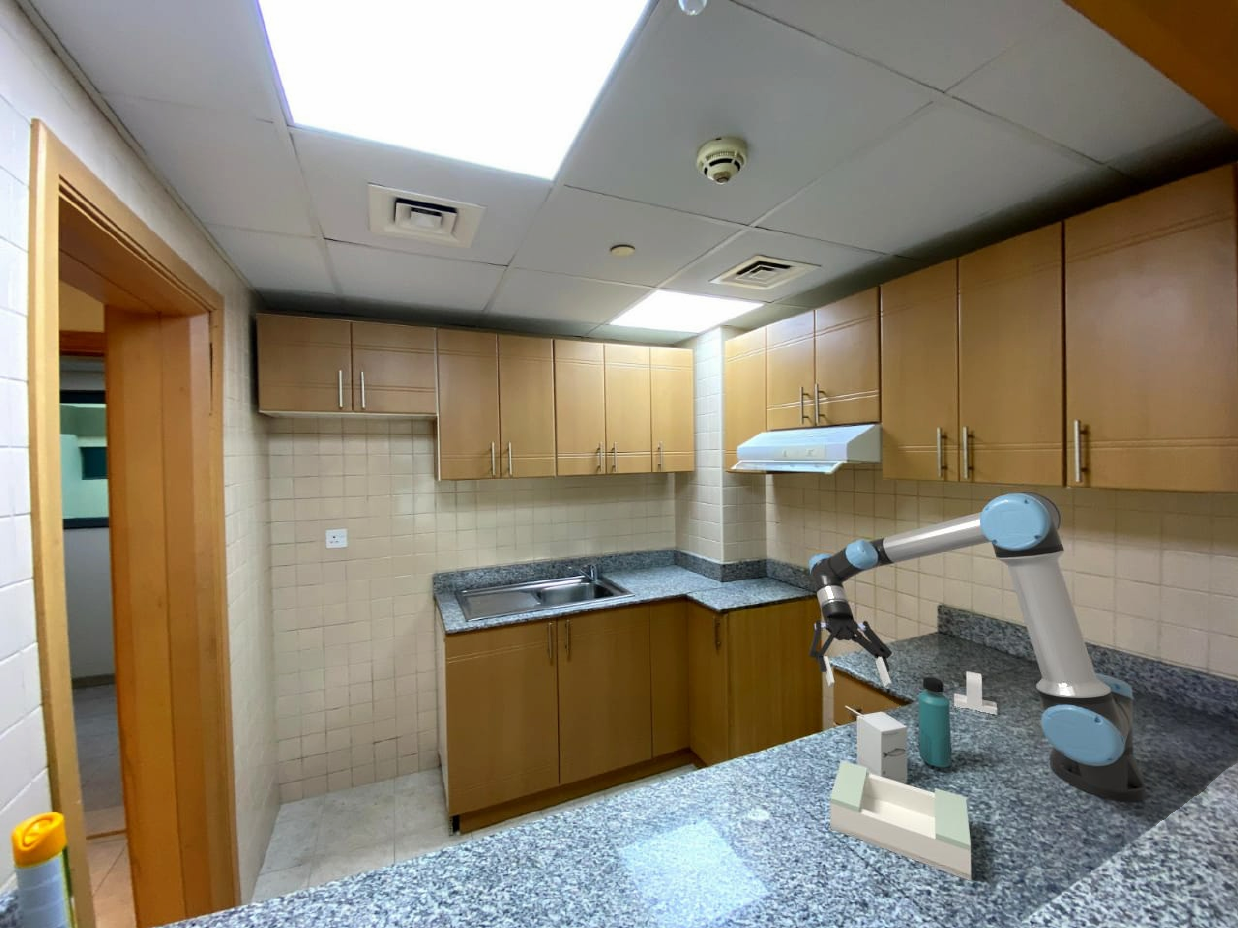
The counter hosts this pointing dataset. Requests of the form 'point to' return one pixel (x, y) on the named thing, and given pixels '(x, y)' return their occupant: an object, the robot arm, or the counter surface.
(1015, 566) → the robot arm
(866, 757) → the supplement box
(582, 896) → the counter surface
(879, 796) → the cream green tray
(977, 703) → the cable organizer
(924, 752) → the beverage bottle
